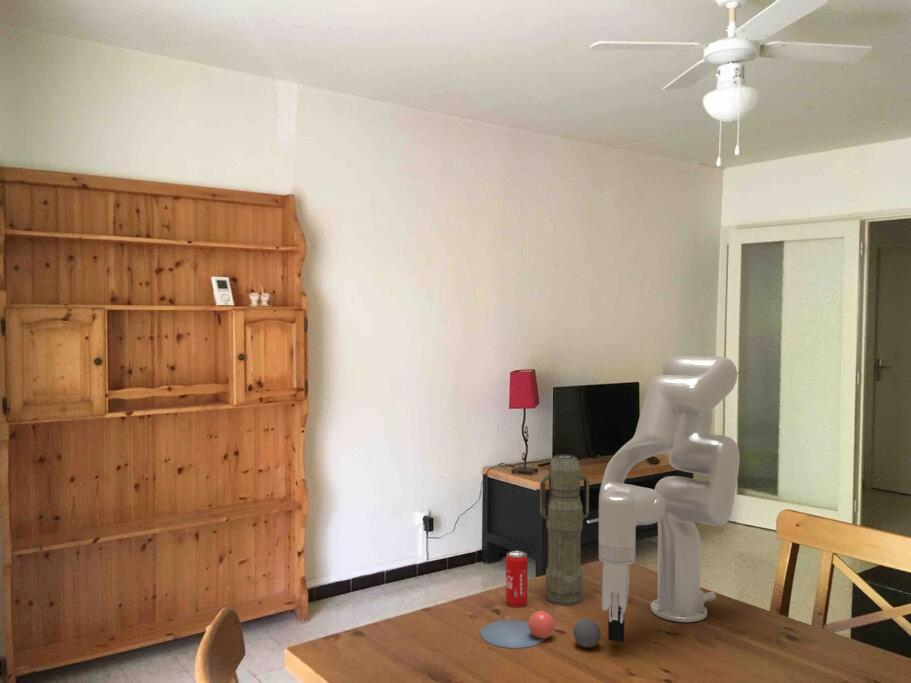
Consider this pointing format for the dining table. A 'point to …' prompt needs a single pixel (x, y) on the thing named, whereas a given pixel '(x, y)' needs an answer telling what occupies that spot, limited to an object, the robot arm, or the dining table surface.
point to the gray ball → (587, 633)
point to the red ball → (541, 624)
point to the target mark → (509, 634)
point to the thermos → (564, 529)
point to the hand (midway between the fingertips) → (616, 639)
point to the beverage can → (516, 578)
